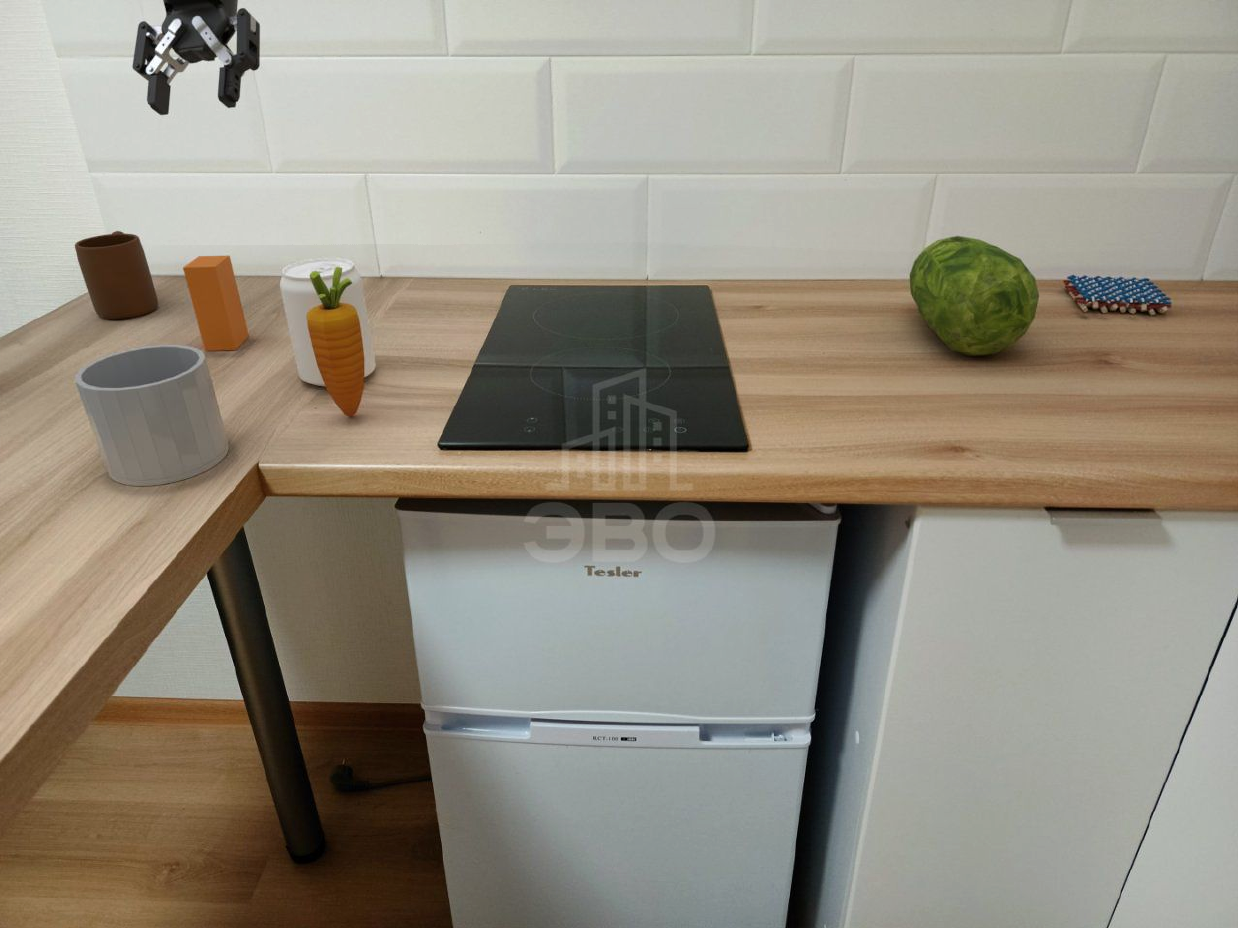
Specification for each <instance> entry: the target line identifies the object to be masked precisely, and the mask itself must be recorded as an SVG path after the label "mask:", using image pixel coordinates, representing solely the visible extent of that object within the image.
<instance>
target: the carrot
mask: <svg viewBox="0 0 1238 928" xmlns="http://www.w3.org/2000/svg"><path fill="white" fill-rule="evenodd" d="M341 273H342V268H340V267H336V268H335V270H334V274H333V282H332V287H331V288H330V292H329V290H328V288H327V286H326V285H325V283H324V282H323V280H322V279H321V276H320V274H319V272H318V271H313V272H312V273H311V274H310V279H311V281H312V284H313V286H314V288H315V290H316V292H317V294H318V297H319V298H320V300H321V302H322V304H321V305H318V306H316V307H314V308H312V309H310V310H309V312H308V313H307V324H308V330H309V334H310V339H311V343H312V347H313V351H314V355H315V359H316V362H317V366H318V369H319V371H320V374H321V376H322V379H323V381H324V383H325V386H326V387H325V386H324V387H325V388H326V390H327V392H328V394H329V396H330V398H331V399H332V400H333V402H334V404H335V405H336V406H337V407H338V409H340V411H341V412H342V413H343V414H344V415H345V416H347V417H348V418H353V417H354V416H355V415H356V414H357V412H358V410H359V407H360V405H361V402H362V399H363V398H362V397H363V393H364V389H365V377H364V351H363V342H362V335H361V328H360V321H359V317H358V314H357V311H356V309H355V307H353V306H352V305H350V304H347V303H340V302H339V301H340V298H341V295H342V293H343V291H344V290H345V289H346V287H347V286H349V285H351V284H352V281H351V280H350V279H349V278H346V279H344V280H343V281H341V282H340V278H341Z"/></svg>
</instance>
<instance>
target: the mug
mask: <svg viewBox="0 0 1238 928" xmlns="http://www.w3.org/2000/svg"><path fill="white" fill-rule="evenodd" d="M74 248H75V253H76V258H77V261H78V265H79V268H80V271H81V274H82V277H83V280H84V283H85V286H86V289H87V292H88V294H89V297H90V301H91V304H92V307H93V309H94V311H95V314H96V315H97V316H98V317H99V318H102V319H106V320H127V319H132V318H138V317H141V316H144V315H148V314H150V313H152V312H153V311H155V310H156V309H157V308H158V306H159V299H158V296H157V292H156V288H155V284H154V282H153V277H152V274H151V270H150V266H149V263H148V260H147V257H146V253H145V249H144V246H143V245H142V242H141V240H140V237H139V236H138V235H137V234H133V233H125V232H123V231H121V230H115V231H113V232H112V233H109V234H108V233H107V234H102V235H95V236H92V237H88V238H87V237H86V238H84V239H81V240H78V241H77V242H76V243H74Z"/></svg>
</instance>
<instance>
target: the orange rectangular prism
mask: <svg viewBox="0 0 1238 928" xmlns="http://www.w3.org/2000/svg"><path fill="white" fill-rule="evenodd" d="M182 270H183V274H184V277H185V281H186V284H187V288H188V292H189V296H190V299H191V303H192V307H193V311H194V315H195V319H196V322H197V326H198V329H199V333H200V336H201V337H200V338H201V340H202V345H203V348H204V351H205V352H212V351H214V352H215V351H217V352H218V351H237V349H238V348H239V347H240V346H241V345H243V343H244V342H245V341H246V340H248V338H249V337H250V334H249V331H248V327H247V321H246V318H245V313H244V310H243V305H242V301H241V297H240V292H239V289H238V285H237V280H236V276H235V272H234V267H233V263H232V259H231V256H230V255H199V256H197V257H196V258H194V259H193V260H191V261H190V262H189V263H186V265H183V267H182Z"/></svg>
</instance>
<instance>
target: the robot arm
mask: <svg viewBox="0 0 1238 928" xmlns="http://www.w3.org/2000/svg"><path fill="white" fill-rule="evenodd" d="M162 2H163V6H164V10H165V14H166V15H165V18H164V20H163V22H162V24H161V25H153V26H152V25H150V24H149V23H148V22H147V21H146V20H143V21H141V22H139V24H138V25H137V32H136V38H135V45H134V53H133V60H132V65H131V66H132V70H133V71H135V72H136V73H137V74H139V75H140V76H141V77H142V78H143V79H145V80H146V81H147V95H146V102H147V105H149V107H150V108H151V110H153V111H154V112H155V113H157V114H159V115H160V116H166V115H169V113H170V100H171V88H172V86H171V85H170V84H171V83H172V81H173V80H174V78H175V77H176V76H177V74H178V73H184V72H185V70H186V69H187V67H188V66H189V64H190V65H191V64H197V63H199V62H202V61H205V62H215V61H216V58H218V60H219V61H220V63H221V64H222V65H223V66H220V67H219V70H218V71H219V73H218V84H217V85H218V86H217V99H218V100H219V102H220V103H221V104H223V105H224V106H225V107H226V108H227V109H232V108H236V107H237V103H238V102H239V100H240V97H241V84H242V77H244V76H245V73H246V72H247V71H249V70H251V71H257V70H258V69H260V64H261V61H260V59H261V58H260V56H261V51H260V50H261V25H260V22H259V21H258V20H257V19H256V18H255V16H253V15H252V13H250V12H249V11H248V10H247V9H246V8H245V7H241V8H239V9H238V4H239V3H238V2H239V0H162ZM235 34H236V54H234V52H233V50H232V49H231V48H230V47H229V45H228V44H229V43H230V41H231V39H232V38H233V37H234V35H235ZM171 50H173V52H174V53H175V54H176V55H177V56H178V57H177V58H176V59H175V58H174V57H172V55H171V54H170V51H171ZM166 63H167V66H166V67H165V68H164V70H163V71H162V70H161V69H162V68H163V67H164V65H165V64H166Z"/></svg>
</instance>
